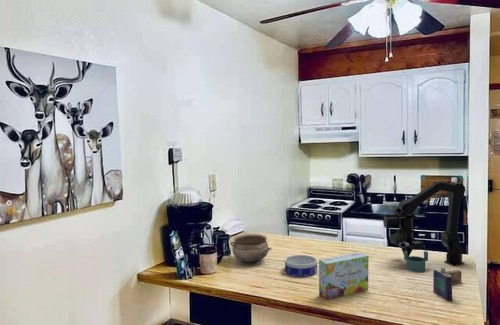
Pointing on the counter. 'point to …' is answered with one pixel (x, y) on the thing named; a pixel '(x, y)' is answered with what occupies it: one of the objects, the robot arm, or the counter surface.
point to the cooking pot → (250, 247)
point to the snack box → (343, 275)
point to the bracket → (416, 262)
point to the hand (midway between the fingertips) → (406, 258)
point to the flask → (442, 283)
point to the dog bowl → (301, 265)
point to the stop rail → (455, 276)
